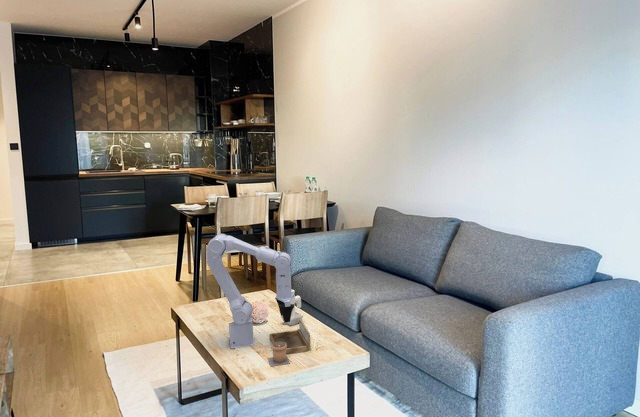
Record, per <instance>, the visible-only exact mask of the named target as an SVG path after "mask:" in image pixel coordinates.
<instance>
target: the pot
mask: <svg viewBox="0 0 640 417" xmlns="http://www.w3.org/2000/svg"><path fill="white" fill-rule="evenodd" d="M270 346H271V349H272V357H273V361H274V362H276V363H282V362H285V361H286V348H287V344H286V343H285V342H275V343H273V344H272V343H271V344H270Z"/></svg>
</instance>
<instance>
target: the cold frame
mask: <svg viewBox="0 0 640 417" xmlns="http://www.w3.org/2000/svg"><path fill="white" fill-rule="evenodd" d="M269 340H270V343H271V345H272V344H273V343H275V342H285V343H286V344H287V348H286V355H287V356H288V355H293V354H301V353H307V352H309V351H308V343H307V342H306V340H305V338H304V336H303V335H302V333H301V331H300V330H299V328H297V330H295V329H294V330H289V331H279V332H273V333H269ZM311 349H312V347H311V345H310V351H312V350H311Z"/></svg>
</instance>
